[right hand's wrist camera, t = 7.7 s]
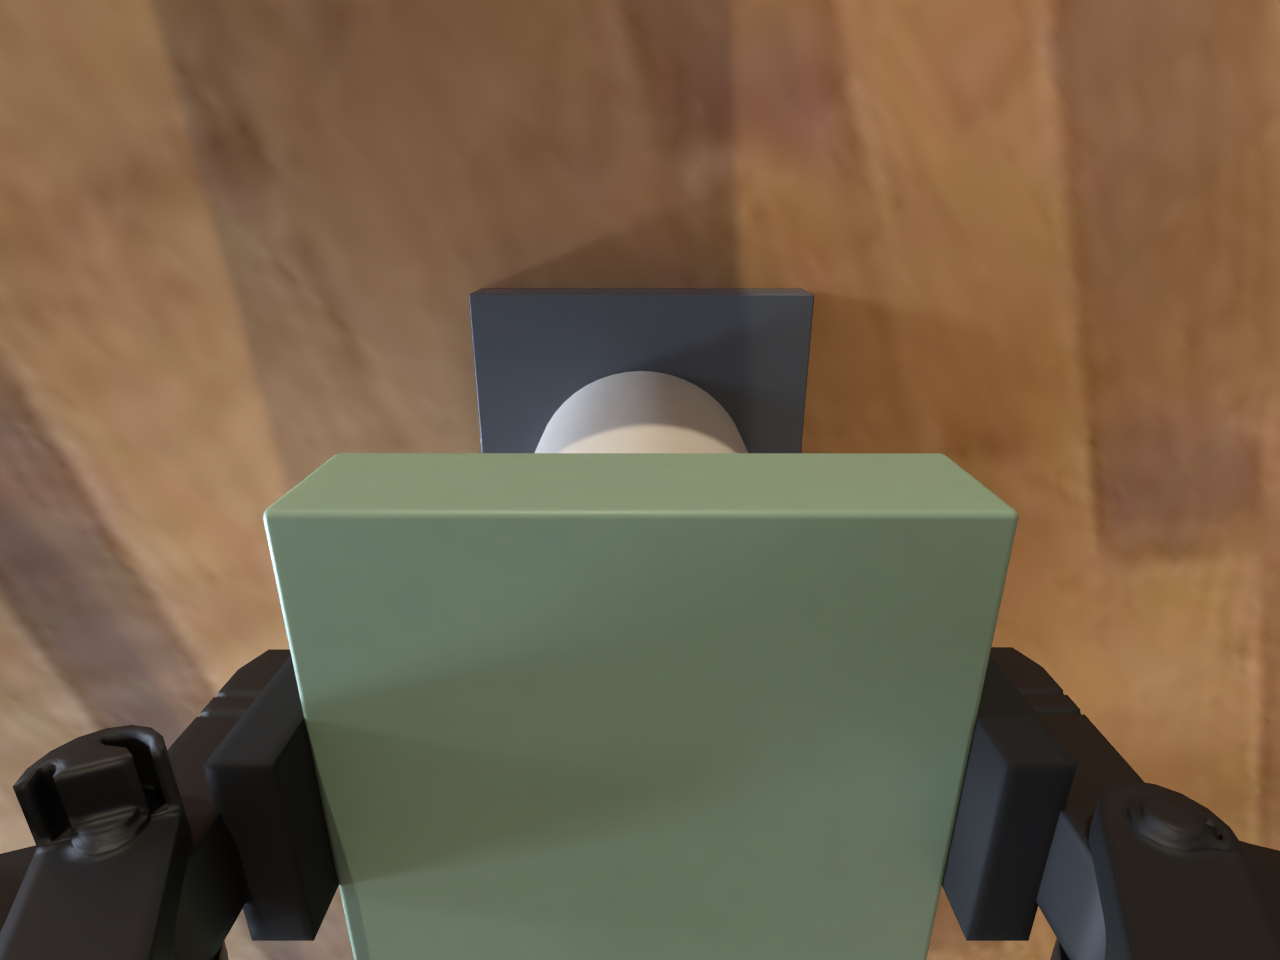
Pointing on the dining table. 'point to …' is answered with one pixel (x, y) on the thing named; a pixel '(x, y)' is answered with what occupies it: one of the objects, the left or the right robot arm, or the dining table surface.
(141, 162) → the dining table surface
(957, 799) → the green square block
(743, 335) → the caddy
